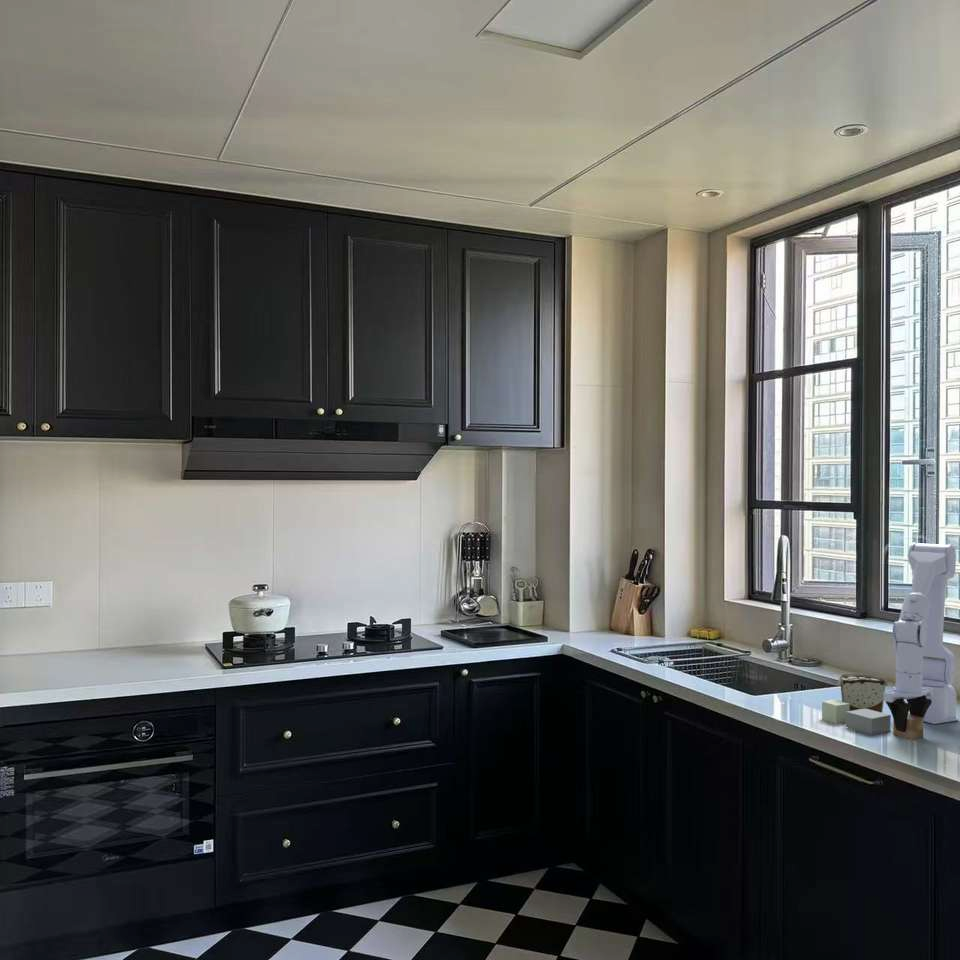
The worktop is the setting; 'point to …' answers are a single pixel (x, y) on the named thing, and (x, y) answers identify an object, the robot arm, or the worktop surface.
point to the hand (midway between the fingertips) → (908, 729)
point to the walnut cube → (911, 728)
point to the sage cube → (835, 710)
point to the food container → (863, 690)
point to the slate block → (868, 721)
